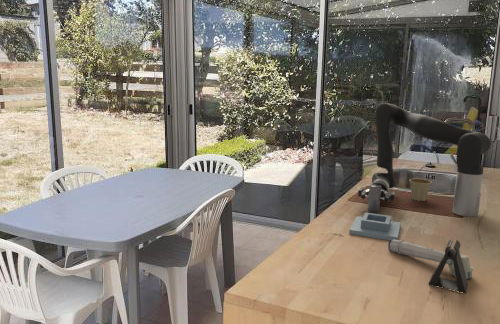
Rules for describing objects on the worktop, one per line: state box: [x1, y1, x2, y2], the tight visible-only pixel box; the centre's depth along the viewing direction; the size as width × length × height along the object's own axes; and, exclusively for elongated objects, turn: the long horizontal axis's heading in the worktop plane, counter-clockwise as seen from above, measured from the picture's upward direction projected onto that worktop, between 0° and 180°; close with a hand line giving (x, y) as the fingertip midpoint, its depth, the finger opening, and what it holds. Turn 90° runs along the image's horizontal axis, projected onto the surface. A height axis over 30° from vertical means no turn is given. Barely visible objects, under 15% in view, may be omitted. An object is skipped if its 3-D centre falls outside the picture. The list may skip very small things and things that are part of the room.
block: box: [348, 212, 402, 241], centre depth 153 cm, size 16×16×4 cm
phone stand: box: [428, 238, 469, 294], centre depth 113 cm, size 9×6×12 cm, turn 58°
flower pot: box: [409, 178, 433, 202], centre depth 192 cm, size 9×9×9 cm
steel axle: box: [367, 183, 381, 214], centre depth 169 cm, size 4×4×12 cm
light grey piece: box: [387, 239, 474, 280], centre depth 127 cm, size 5×7×25 cm
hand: (374, 198), depth 170 cm, fingers open, 8 cm apart
